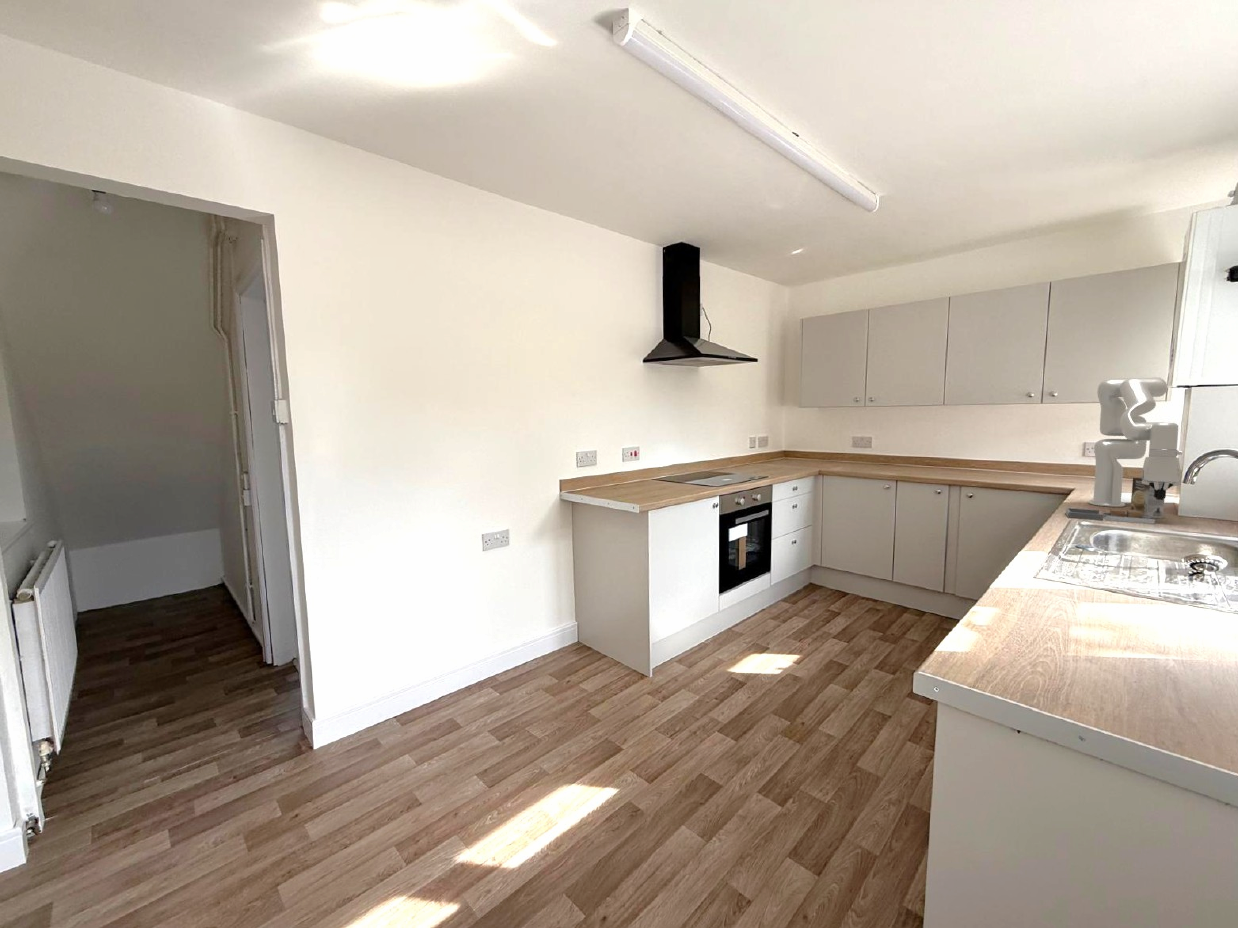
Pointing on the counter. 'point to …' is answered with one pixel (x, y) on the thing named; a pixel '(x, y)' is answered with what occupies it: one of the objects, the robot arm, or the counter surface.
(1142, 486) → the coffee box
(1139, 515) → the walnut chip
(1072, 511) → the gray u-shaped frame
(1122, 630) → the counter surface
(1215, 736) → the counter surface
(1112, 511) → the walnut chip
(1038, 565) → the counter surface
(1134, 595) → the counter surface
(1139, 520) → the slot rails
